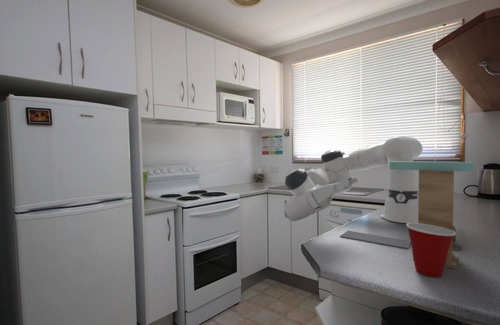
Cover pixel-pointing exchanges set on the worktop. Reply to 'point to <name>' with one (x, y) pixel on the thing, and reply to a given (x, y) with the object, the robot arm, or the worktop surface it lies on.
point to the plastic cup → (430, 247)
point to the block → (432, 166)
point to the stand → (437, 204)
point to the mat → (377, 239)
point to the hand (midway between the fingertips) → (352, 180)
